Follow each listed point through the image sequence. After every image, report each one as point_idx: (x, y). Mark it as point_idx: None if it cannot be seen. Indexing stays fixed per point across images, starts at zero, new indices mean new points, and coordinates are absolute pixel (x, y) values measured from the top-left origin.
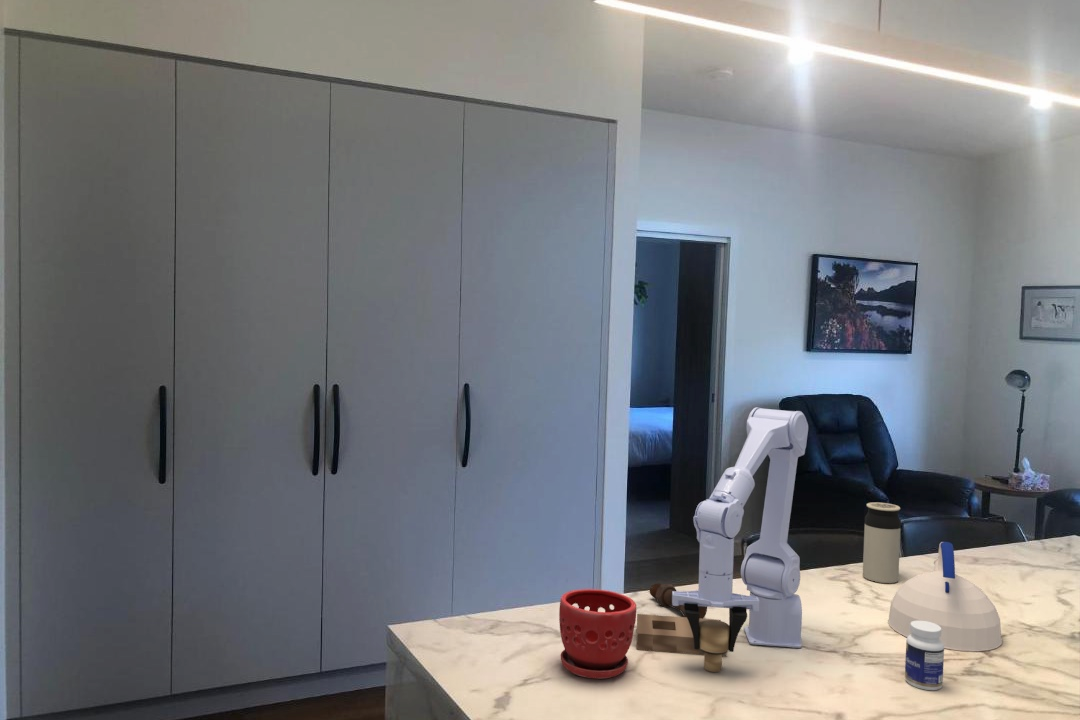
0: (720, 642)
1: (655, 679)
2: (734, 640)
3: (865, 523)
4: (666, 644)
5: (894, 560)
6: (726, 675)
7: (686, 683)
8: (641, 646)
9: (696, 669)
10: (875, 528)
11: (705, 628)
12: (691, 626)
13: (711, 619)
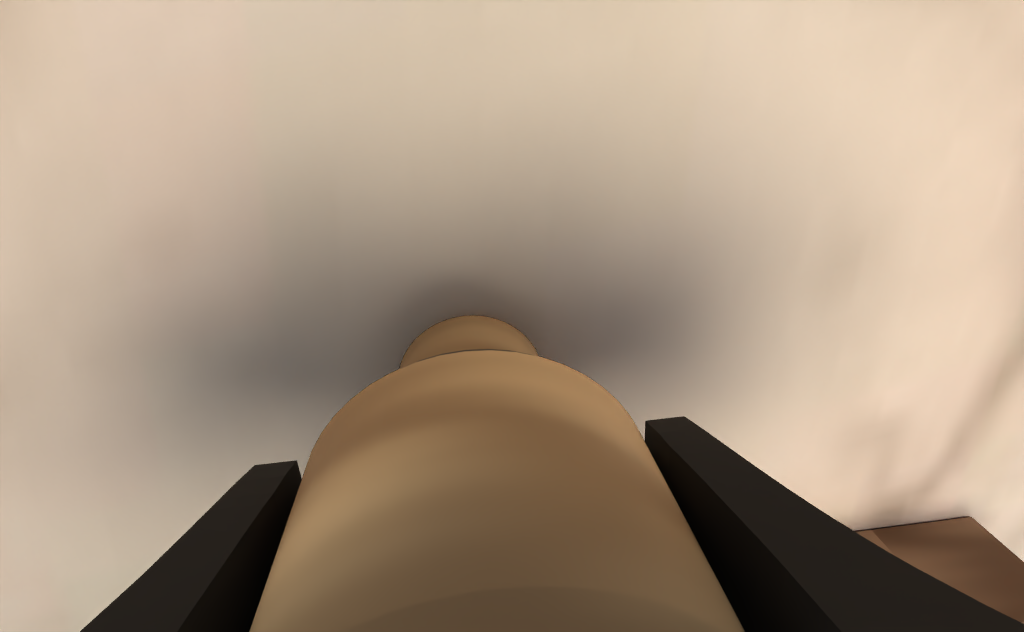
0: (388, 453)
1: (979, 49)
2: (169, 565)
3: None
4: None
5: None
6: (355, 299)
7: (717, 32)
8: (961, 538)
9: (599, 341)
10: None
11: (696, 630)
12: (991, 609)
13: None
